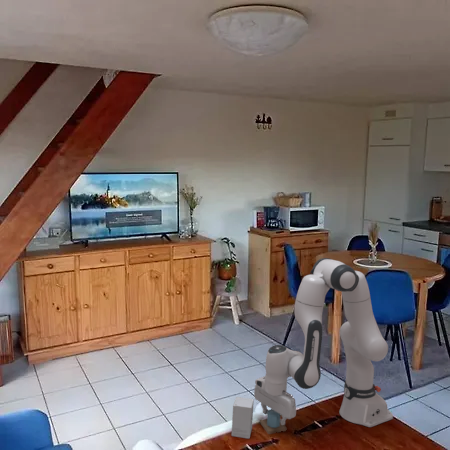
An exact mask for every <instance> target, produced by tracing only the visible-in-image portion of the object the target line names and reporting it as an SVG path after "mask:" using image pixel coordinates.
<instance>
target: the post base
mask: <svg viewBox="0 0 450 450" xmlns="http://www.w3.org/2000/svg"><path fill="white" fill-rule="evenodd" d="M259 423H260V425H261V426H262V427H263V429H264V431H265V432H266V433H267V435H271V434H277V433H282V432H281V431H283V432H286V430H287V429H288V428H287V426H286V424H284V425H281V424H280V426H279V427H277V428H272V427H269V426H268V425H267V418H266V419H260V420H259ZM287 431H288V430H287ZM276 432H277V433H276Z"/></svg>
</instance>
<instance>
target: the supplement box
mask: <svg viewBox="0 0 450 450" xmlns="http://www.w3.org/2000/svg"><path fill="white" fill-rule="evenodd" d="M254 401H255V398H254V399H253V398H248V397H239V396H236V397H235V399H234V403H233V405H232V419H231V421H232V422H231V437H237V438H243V439H250V437H251V433H252V431H253V418H254V404H255V403H254Z"/></svg>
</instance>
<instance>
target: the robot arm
mask: <svg viewBox="0 0 450 450" xmlns="http://www.w3.org/2000/svg"><path fill="white" fill-rule="evenodd" d="M330 289H333V290H335V291H338V292H341V297H342V304H343V311H344V316H345V318H346V320H347V321H345V322H344V323H343V324H342V325H341V326H340V329H339V337H340V338H341V340H342V341H341V342H342V343H343V348H344V353H345V354H344V355H345V360H346V369H345V370H346V373H345V380H344V383H343V399H342V402H341V406H340V409H339V411H338V412H339V415H340V416H341V418H342V419H344V420H346V421H348V422H350V423H353V424H355V425H356V424H357V425H361V426H365V427H368V428H372V427H375V426H377V425H380V424H383V423H385V422H388V421H391V420H393V419H394V415H393V413H392V412H391V411H390V409H388V404H387V402H386V400H385V399H384V398H383V397H382V396H381V395H379V394H378V393H380V392H381V390H382V389H381V387H380V386H378V385H375V384H374V376H375V375H374V374H375V367H374V365H373V363H372V362H380V361H382V360H384V358H386V356H387V355H388V351H389V345H388V342H387V341H386V340H385V339H384V337H383V335H382V333H381V331H380V328H379V326H378V323H377V320H376V318H375V315H374V312H373V306H372V300H371V298H372V297H371V294H370V293H371V292H370V289H369V283H368V281H367V279H366V276H365V274H364V273H363V272H362V271H358V270H354V268H353V267H352V266H350V265H348V264H346V263H344V262H342V261H340V260H335V259H332V258H330V257H329V258H328V257H323V258H322V257H321V258H320V259H318V260H316V262H314V264H313V266H312V269H311V270H310V273H309V274H307V275H304V276H303V278H302V279H301V282H300V285H299V287H298V290H297V293H296V297H295V300H294V301H295V302H294V313H293V314H294V318H295V320H296V322H298V324H299V326H300V328H301V330H302V332H303V334H304V347H303V352H301V351H298V350H292V349H290V348H288V347H286V346H285V345H282V344H275V345H273V346H271V347H270V348H268V350H267V353H266V356H265V357H266V358H265V368H264V369H265V375H264V376H261V377H259V378H257V379H255V385H254V391H253V395H254V400H256V401H258V402H259V403H260V405H261V408H262V414H264V415H266V416H267V413H268V410H269V409H273V410H274V411H276V412H278V413H279V414H280V416H281V417H282V418H280V424H281V425H286V420H287V419H288V420H291V419H293V418H295V417H296V415H297V406H296V405H297V404H296V399H295V397H294V396H293V394H292V393H289V392H288V391H287V389H288V388H287V386H288V378H292V379H293V380H294V381H295V383H296V384H297V385H298V387H300V388H301V389H303V390H309V389H312V388H314V387H315V386H317V384H319V382H320V380H321V376H322V373H321V372H322V371H321V367H320V366H321V365H320V363H321V360H320V359H321V352H322V351H321V350H322V344H323V343H322V341H323V312H324V305H325V300H326V295H327V293H328V292H329V290H330Z"/></svg>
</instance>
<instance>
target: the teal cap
mask: <svg viewBox="0 0 450 450" xmlns="http://www.w3.org/2000/svg"><path fill="white" fill-rule="evenodd" d="M266 416H267V418H266V419H267V425H268V426H269V427H272V428H277V427H279V426H280V419H281V414H279V413H278V412H276V411H274V410H273V409H271V408H269V409H268V413H267V414H266Z"/></svg>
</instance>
